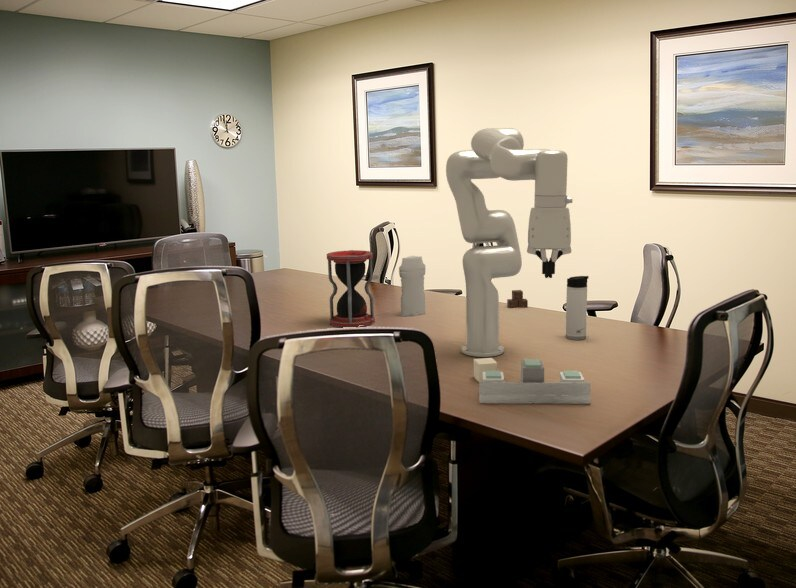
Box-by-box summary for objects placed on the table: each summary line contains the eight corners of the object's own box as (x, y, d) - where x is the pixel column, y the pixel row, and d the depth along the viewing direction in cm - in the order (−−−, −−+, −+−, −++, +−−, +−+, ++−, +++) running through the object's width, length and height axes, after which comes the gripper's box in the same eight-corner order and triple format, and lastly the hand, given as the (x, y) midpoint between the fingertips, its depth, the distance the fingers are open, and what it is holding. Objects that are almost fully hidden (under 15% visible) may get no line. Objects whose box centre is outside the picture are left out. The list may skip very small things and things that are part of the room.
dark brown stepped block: (531, 303, 287) (531, 286, 285) (539, 311, 272) (540, 293, 271) (493, 304, 286) (493, 287, 285) (500, 312, 272) (500, 294, 270)
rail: (479, 400, 176) (479, 380, 175) (588, 400, 174) (589, 380, 173) (479, 403, 174) (479, 383, 173) (590, 403, 172) (590, 383, 171)
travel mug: (583, 341, 227) (584, 278, 223) (562, 338, 230) (564, 276, 226) (589, 336, 232) (591, 274, 228) (569, 334, 235) (571, 273, 232)
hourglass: (373, 327, 251) (371, 255, 246) (327, 328, 252) (323, 257, 247) (376, 317, 267) (373, 249, 262) (332, 318, 267) (329, 250, 262)
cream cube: (473, 377, 195) (473, 359, 194) (491, 375, 196) (491, 357, 195) (478, 382, 190) (478, 364, 189) (497, 381, 191) (497, 362, 190)
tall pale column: (402, 317, 265) (401, 257, 261) (398, 315, 269) (396, 256, 265) (428, 314, 269) (427, 255, 265) (423, 312, 273) (422, 253, 269)
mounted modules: (482, 391, 183) (482, 369, 182) (579, 391, 181) (580, 369, 180) (483, 399, 177) (483, 377, 176) (583, 399, 175) (584, 377, 174)
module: (520, 390, 183) (521, 358, 181) (541, 390, 182) (541, 358, 181) (522, 400, 176) (523, 366, 174) (543, 400, 176) (544, 366, 174)
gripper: (580, 200, 179) (577, 274, 183) (518, 201, 181) (517, 274, 185) (583, 203, 172) (581, 280, 175) (519, 204, 173) (518, 279, 177)
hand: (548, 276), depth 180 cm, fingers closed
